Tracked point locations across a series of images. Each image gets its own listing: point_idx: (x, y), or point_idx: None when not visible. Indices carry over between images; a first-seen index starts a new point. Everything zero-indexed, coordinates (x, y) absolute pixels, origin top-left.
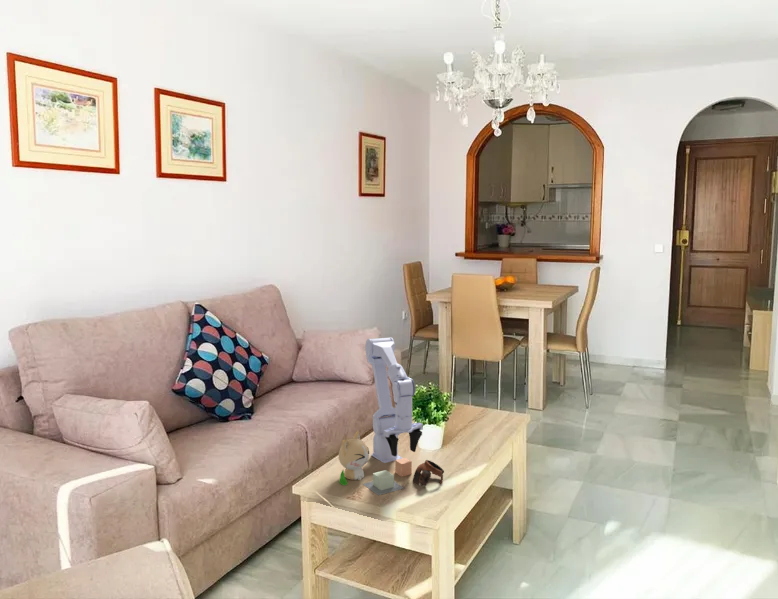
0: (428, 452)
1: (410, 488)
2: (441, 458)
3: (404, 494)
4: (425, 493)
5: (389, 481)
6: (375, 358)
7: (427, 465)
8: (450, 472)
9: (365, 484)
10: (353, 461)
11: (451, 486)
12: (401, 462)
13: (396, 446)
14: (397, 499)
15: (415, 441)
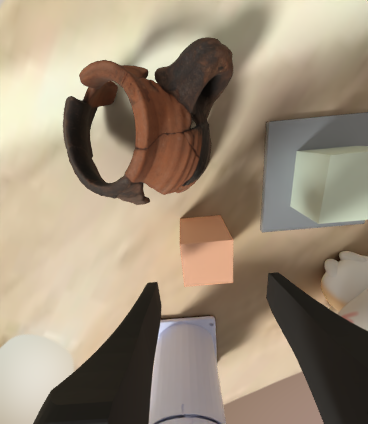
0: (57, 330)
1: (241, 121)
2: (30, 286)
3: (294, 79)
4: None
5: (338, 150)
6: None
7: (153, 115)
8: (34, 180)
9: None
10: None
11: (75, 50)
12: (224, 254)
13: (315, 315)
14: (348, 45)
15: (139, 333)
